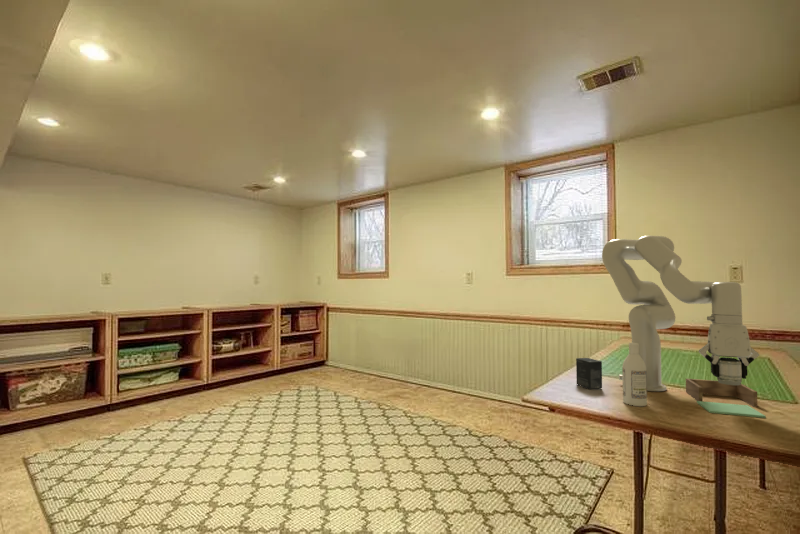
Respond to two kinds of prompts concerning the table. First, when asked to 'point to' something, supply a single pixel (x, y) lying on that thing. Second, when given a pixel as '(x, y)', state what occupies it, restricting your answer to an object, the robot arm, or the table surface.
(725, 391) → the cubby
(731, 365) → the camera lens
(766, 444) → the table surface
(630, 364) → the bath foam
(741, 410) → the cutting mat
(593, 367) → the box
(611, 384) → the table surface
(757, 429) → the table surface
